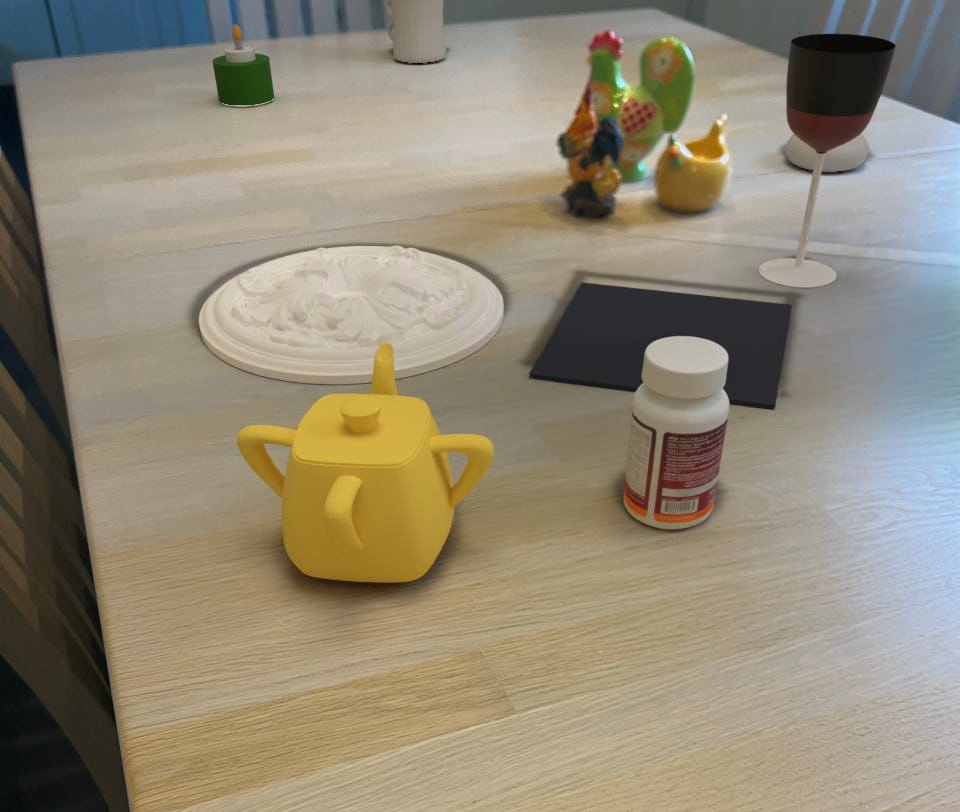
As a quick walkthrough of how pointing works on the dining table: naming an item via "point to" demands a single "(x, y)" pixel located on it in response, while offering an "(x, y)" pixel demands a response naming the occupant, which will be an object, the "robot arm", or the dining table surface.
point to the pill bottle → (677, 433)
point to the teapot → (366, 482)
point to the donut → (828, 154)
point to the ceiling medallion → (350, 314)
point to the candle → (243, 74)
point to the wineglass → (828, 120)
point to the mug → (417, 30)
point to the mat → (660, 314)
